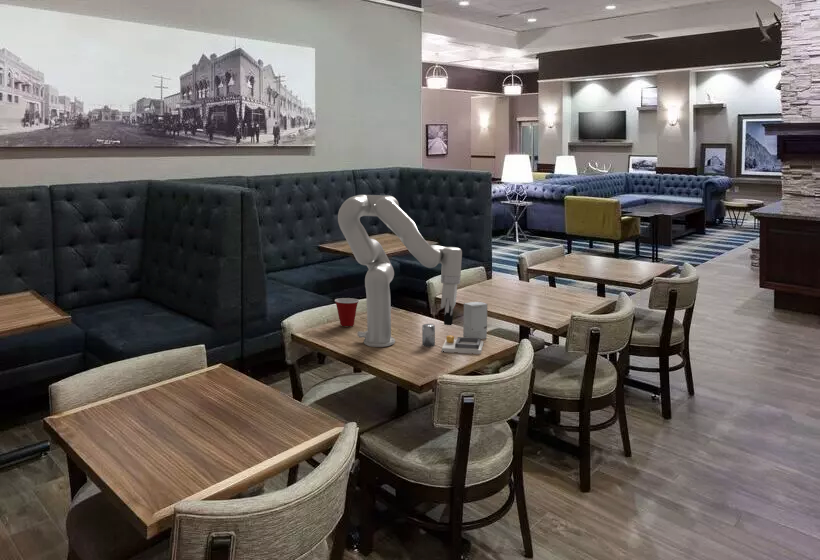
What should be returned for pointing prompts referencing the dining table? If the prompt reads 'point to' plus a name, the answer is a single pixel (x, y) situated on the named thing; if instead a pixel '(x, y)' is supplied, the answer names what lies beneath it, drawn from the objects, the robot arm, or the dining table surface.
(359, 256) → the robot arm
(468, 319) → the skincare box
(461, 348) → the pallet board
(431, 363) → the dining table surface
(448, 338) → the button
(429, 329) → the block
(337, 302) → the plastic cup
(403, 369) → the dining table surface
